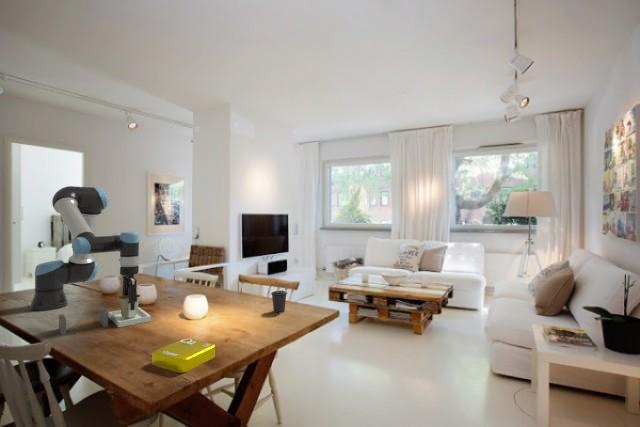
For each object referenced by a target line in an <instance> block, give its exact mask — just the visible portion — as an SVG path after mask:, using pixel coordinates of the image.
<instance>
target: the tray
mask: <svg viewBox="0 0 640 427" xmlns="http://www.w3.org/2000/svg"><path fill="white" fill-rule="evenodd" d="M108 319H109V320H111V321H112V323H113V324H114V325H115V326H116V328H117V327H118V328H123V327H129V326H133V325H139V324H144V323H149V322H152V315H151V314H149V312H146V311H145V310H143V308H141V307H139V306H138V311H137V314H136V317H130V318H129V317H128V316H126V317H122V314H121V309H120V310H115V311H108Z"/></svg>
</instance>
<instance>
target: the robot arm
mask: <svg viewBox="0 0 640 427" xmlns="http://www.w3.org/2000/svg"><path fill="white" fill-rule="evenodd" d="M108 202H109V200H108V196H107V193H106V192H105V190H104V189H103V188H100V187H95V186H74V185H73V186H71V185H68V186H65V187H62V188H60V189H58V190H57V191H56V192H55V194H54V195H53V197H52V200H51V204H52V207H53V209H54V211H55V212H56V213H57V214H59V215H60V216H61V217H62V220H63V222H64V224H65V226H66V227H67V229H68V231H69V232H70V234H71V235H72V238H73V239H72V242H71V248H72V255H71V256H69V257H68V260H67V262H64V261H63V260H52V261H51V260H50V261H46V262H43V263H42V262H41V263H39V264H37V265H36V266H35V268H34V269H35V271H34V295H33V298H32V300H31V303H30V310H31V311H35V312H37V311H39V312H40V311H42V312H43V311H49V310H55V309H60V308H63V307H66V306H68V305H69V304H68V301H69V300H68V297H67V296H66V293H65V291H64V290H65V289H64V285H70V284H79V283H86V282H89V281H92V280H94V279H95V278H96V276H97V274H98V263H97V261H96V260H95V258H94V257H93V256H92V255H93V254H101V253H103V254H104V253H115V252H119V257H120V258H119V259H118V262H119V265H120V267H119V275H121V276H122V295H121V296H123V295H125V296H127V295H129V302H127V303H128V317H129V318H130V317H136V302H137V293H138V291H137V281H138V280H137V279H136V278H135V275H138V274H139V272H140V270H139V269H140V268H139V267H140V266H139V264H140V257H139V255H140V254H139V253H140V251H139V250H140V239H139V238H140V237H139V233H138V232H137V231H123V232H120V234H113V235H105V236H103V235H101V236H95V234H96V228H97V223H98V222H97V221H98V216H100V215H101V214H102V212H103V210H106V209H107V207H108V204H109V203H108ZM132 299H133V300H132Z"/></svg>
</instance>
